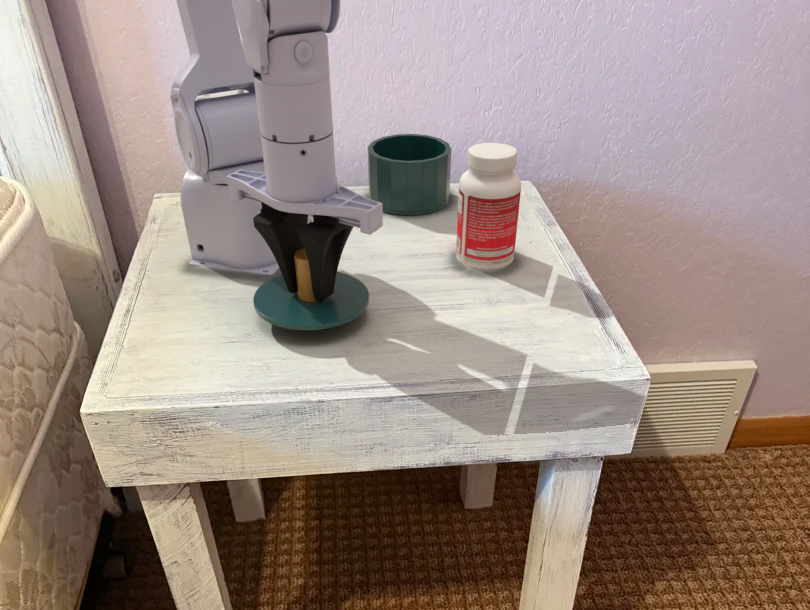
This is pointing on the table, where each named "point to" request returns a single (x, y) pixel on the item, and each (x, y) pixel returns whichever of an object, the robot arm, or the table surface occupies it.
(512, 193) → the pill bottle
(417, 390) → the table surface
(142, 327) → the table surface
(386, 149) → the tin
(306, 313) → the lid
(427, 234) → the table surface
